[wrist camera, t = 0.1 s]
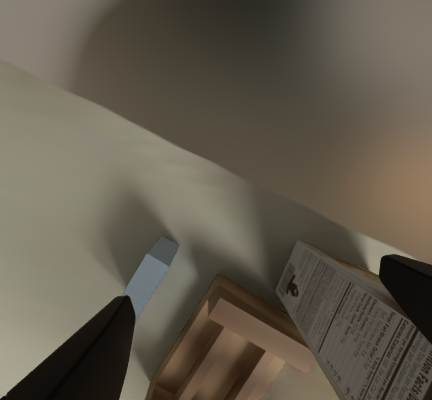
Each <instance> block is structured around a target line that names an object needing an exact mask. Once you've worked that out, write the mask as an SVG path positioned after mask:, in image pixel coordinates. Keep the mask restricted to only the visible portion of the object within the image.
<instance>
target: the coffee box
mask: <svg viewBox="0 0 432 400" xmlns="http://www.w3.org/2000/svg"><path fill="white" fill-rule="evenodd" d="M275 291H276V293H277V295H278V297H279V298H280V300H281V302H282V303H283V305H284V307H285V308H286V310H287V312H288V313H289V315H290V317H291V318H292V320H293V322H294V323H295V325H296V327H297V329H298V330H299V332H300V333H301V335H302V337H303V338H304V340H305V342H306V344H307V345H308V347H309V349H310V351H311V352H312V354H313V355H314V357H315V359H316V360H317V362H318V364H319V366H320V367H321V369H322V370H323V372H324V374H325V375H326V377H327V379H328V380H329V382H330V384H331V385H332V387H333V389H334V390H335V392H336V394H337V396H338V397H339V399H340V400H432V345H431V343H430V342H429V341H428V340H427V339H426V338H425V337H424V336H423V335H422V333H421V332H420V331H419V330H418V329H417V328H416V327H415V325H414V324H413V323H412V322H411V321H410V319H409V318H408V317H407V316H406V314H405V313H404V312H403V310H402V309H401V308H400V306H399V305H398V304H397V302H396V301H395V300H394V298H393V297H392V296H391V294H390V293H389V292H388V290H387V289H386V288H385V286H384V285H383V284H382V282H381V281H380V278H379V275H377V274H375V273H373V272H371V271H368V270H366V269H364V268H361V267H359V266H357V265H354V264H352V263H350V262H348V261H345V260H343V259H341V258H338V257H336V256H334V255H332V254H329V253H327V252H325V251H322V250H320V249H318V248H316V247H313V246H311V245H309V244H306V243H304V242H302V241H299V240H298V241H297V242H296V244H295V246H294V248H293V251H292V253H291V255H290V258H289V260H288V262H287V264H286V267H285V269H284V271H283V273H282V276H281V278H280V280H279V283H278V285H277V287H276V290H275Z"/></svg>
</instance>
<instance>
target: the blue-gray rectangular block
mask: <svg viewBox="0 0 432 400" xmlns="http://www.w3.org/2000/svg"><path fill="white" fill-rule="evenodd" d="M178 247H179V245H178V244H176V243H174V242H173V241H171V240H169V239H167V238H166V237H164V236H162V237H161V238H160V239H159V240H158V241H157V243H156V244H155V245H154V246H153V247H152V248H151V249H150V250H149V252H148V253H147V254H146V256H145V257H144V259H143V261H142V262H141V264H140V266H139V267H138V269H137V271H136V272H135V274H134V276H133V277H132V279H131V280H130V282H129V284H128V285H127V287H126V289H125V290H124V292H123V294H122V295H121V296H124V295H128V296H130V298H131V301H132V304H133V308H134V311H135V315H136V320H137V319H138V317H139V315H140V314H141V312H142V310H143V309H144V307H145V305H146V304H147V302H148V301H149V299H150V297H151V296H152V294H153V292H154V291H155V289H156V287H157V286H158V284H159V283H160V281H161V279H162V278H163V276H164V274H165V273H166V271H167V269H168V268H169V266H170V264H171V262H172V260H173V258H174V256H175V254H176V252H177V249H178ZM136 320H135V322H136Z"/></svg>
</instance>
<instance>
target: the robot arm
mask: <svg viewBox="0 0 432 400" xmlns="http://www.w3.org/2000/svg"><path fill="white" fill-rule="evenodd" d="M379 278H380V281H381V282H382V284H383V285H384V286H385V288H386V289H387V290H388V292H389V293H390V294H391V296H392V297H393V298H394V300H395V301H396V302H397V304H398V305H399V306H400V308H401V309H402V310H403V312H404V313H405V314H406V316H407V317H408V318H409V319H410V321H411V322H412V323H413V324H414V325H415V327H416V328H417V329H418V330H419V331H420V332H421V333H422V335H423V336H424V337H425V338H426V339H427V340H428V341H429V342H430V343H431V345H432V265H430V264H427V263H424V262H420V261H417V260H413V259H410V258H407V257H403V256H400V255H396V254H391V255H385V256H383V257H382V258H381V262H380V270H379ZM135 320H136V315H135V311H134V308H133V304H132V301H131V298H130V296H128V295H124V296H118V297H116V298H114V299H113V300H112V301H111V302H110V303H109V304H108V305H106V306H105V307H104V308H103V309H102V310H101V311H100V312H99V313H97V314H96V315H95V316H94V317H93V318H92V319H91V320H89V321H88V322H87V323H86V324H85V325H84V326H83V327H81V328H80V329H79V330H78V331H77V332H76V333H75V334H74V335H72V336H71V337H70V338H69V339H68V340H67V341H66V342H64V343H63V344H62V345H61V346H60V347H59V348H58V349H57V350H55V351H54V352H53V353H52V354H51V355H50V356H49V357H47V358H46V359H45V360H44V361H43V362H42V363H41V364H39V365H38V366H37V367H36V368H35V369H34V370H33V371H31V372H30V373H29V374H28V375H27V376H26V377H25V378H24V379H22V380H21V381H20V382H19V383H18V384H17V385H16V386H14V387H13V388H12V389H11V390H10V391H9V392H8V393H7V395H6V396H3V397H2V398H1V399H0V400H119V398H120V394H121V391H122V387H123V383H124V379H125V376H126V372H127V367H128V362H129V356H130V350H131V344H132V338H133V333H134V327H135Z"/></svg>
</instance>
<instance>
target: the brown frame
mask: <svg viewBox="0 0 432 400" xmlns="http://www.w3.org/2000/svg"><path fill="white" fill-rule="evenodd" d="M315 361H316V359H315V357H314V355H313V354H312V352H311V351H310V349H309V347H308V345H307V344H306V342H305V340H304V338H303V337H302V335H301V333H300V332H299V330H298V329H297V327H296V325H295V323H294V322H293V320H292V318H291V317H290V316H289V315H288V314H286V313H284V312H283V311H281V310H279V309H277V308H276V307H274V306H272V305H271V304H269V303H267V302H265V301H264V300H262V299H260V298H259V297H257V296H255V295H253V294H252V293H250V292H248V291H247V290H245V289H243V288H241V287H240V286H238V285H236V284H235V283H233V282H231V281H230V280H228V279H226V278H224V277H223V276H221V275H219V274H218V275H217V276H216V278H215V279H214V281H213V283H212V284H211V286H210V287H209V289H208V291H207V292H206V294H205V295H204V297H203V299H202V300H201V302H200V303H199V305H198V307H197V308H196V310H195V311H194V313H193V315H192V316H191V318H190V319H189V321H188V323H187V324H186V326H185V328H184V329H183V331H182V332H181V334H180V336H179V337H178V339H177V340H176V342H175V344H174V345H173V347H172V348H171V350H170V352H169V353H168V355H167V356H166V358H165V360H164V361H163V363H162V364H161V366H160V368H159V369H158V371H157V372H156V374H155V376H154V377H153V379H152V380H151V382H150V385H149V388H148V392H147V395H146V398H145V400H261V399H262V397H263V396H264V394H265V393H266V391H267V390H268V388H269V386H270V385H271V383H272V382H273V380H274V379H275V377H276V376H277V374H278V373H279V371H280V370H281V368H282V367H283V365H284V363H285V362H287V363H289V364H290V365H292V366H294V367H296V368H297V369H299V370H301V371H303V372H304V373H306V374H307V373H308V372H309V370H310V369H311V367H312V366H313V364H314V363H315Z"/></svg>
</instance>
